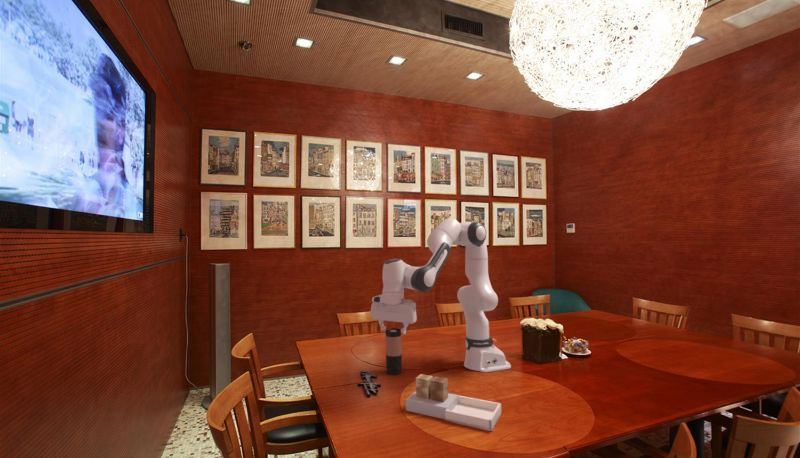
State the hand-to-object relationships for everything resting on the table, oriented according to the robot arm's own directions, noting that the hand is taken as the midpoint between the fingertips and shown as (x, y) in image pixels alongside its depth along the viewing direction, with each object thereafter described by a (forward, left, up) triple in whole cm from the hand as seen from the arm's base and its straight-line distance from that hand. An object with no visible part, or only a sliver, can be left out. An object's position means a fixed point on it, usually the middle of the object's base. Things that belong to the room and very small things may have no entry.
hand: (393, 332), depth 152 cm
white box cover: (-12, +15, -25) cm, 32 cm away
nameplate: (+10, -13, -26) cm, 30 cm away
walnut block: (-15, +17, -21) cm, 31 cm away
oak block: (-10, +14, -21) cm, 27 cm away
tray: (-25, +25, -25) cm, 43 cm away
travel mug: (-3, -25, -25) cm, 35 cm away
